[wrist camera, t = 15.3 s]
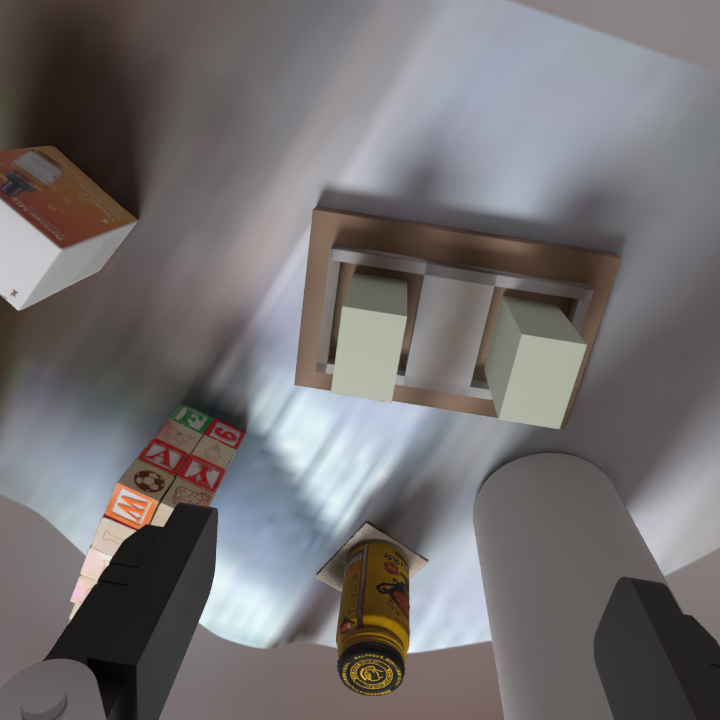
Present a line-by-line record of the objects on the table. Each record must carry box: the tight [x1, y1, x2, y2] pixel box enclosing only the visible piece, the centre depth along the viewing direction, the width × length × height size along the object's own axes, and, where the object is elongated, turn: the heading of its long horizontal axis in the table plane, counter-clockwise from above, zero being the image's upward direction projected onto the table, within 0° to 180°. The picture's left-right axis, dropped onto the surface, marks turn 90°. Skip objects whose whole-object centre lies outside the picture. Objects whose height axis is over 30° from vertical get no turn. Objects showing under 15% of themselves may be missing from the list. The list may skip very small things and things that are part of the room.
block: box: [484, 296, 587, 429], centre depth 40 cm, size 4×6×8 cm, turn 172°
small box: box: [0, 146, 138, 310], centre depth 39 cm, size 8×6×10 cm
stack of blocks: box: [68, 403, 245, 624], centre depth 49 cm, size 21×6×12 cm, turn 153°
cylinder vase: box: [473, 453, 684, 720], centre depth 40 cm, size 12×12×25 cm
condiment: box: [315, 523, 428, 696], centre depth 50 cm, size 7×8×12 cm
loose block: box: [331, 273, 407, 403], centre depth 40 cm, size 4×6×8 cm, turn 172°
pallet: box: [294, 207, 621, 429], centre depth 44 cm, size 22×14×3 cm, turn 82°
